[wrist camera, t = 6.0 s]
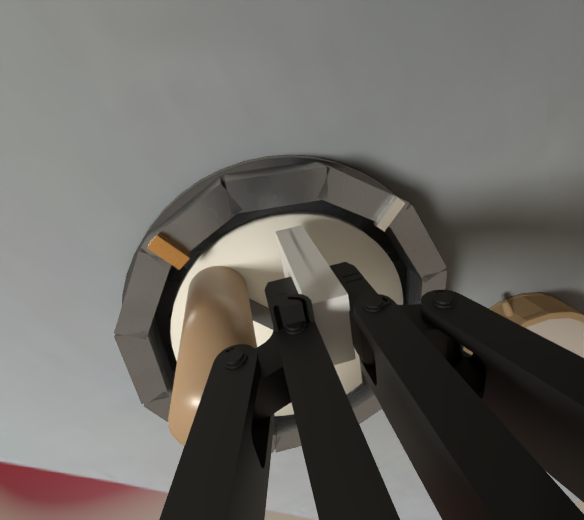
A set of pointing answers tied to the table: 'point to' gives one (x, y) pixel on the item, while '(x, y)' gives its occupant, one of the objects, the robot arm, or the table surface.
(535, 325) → the alarm clock
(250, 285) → the dial
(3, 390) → the table surface
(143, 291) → the housing
